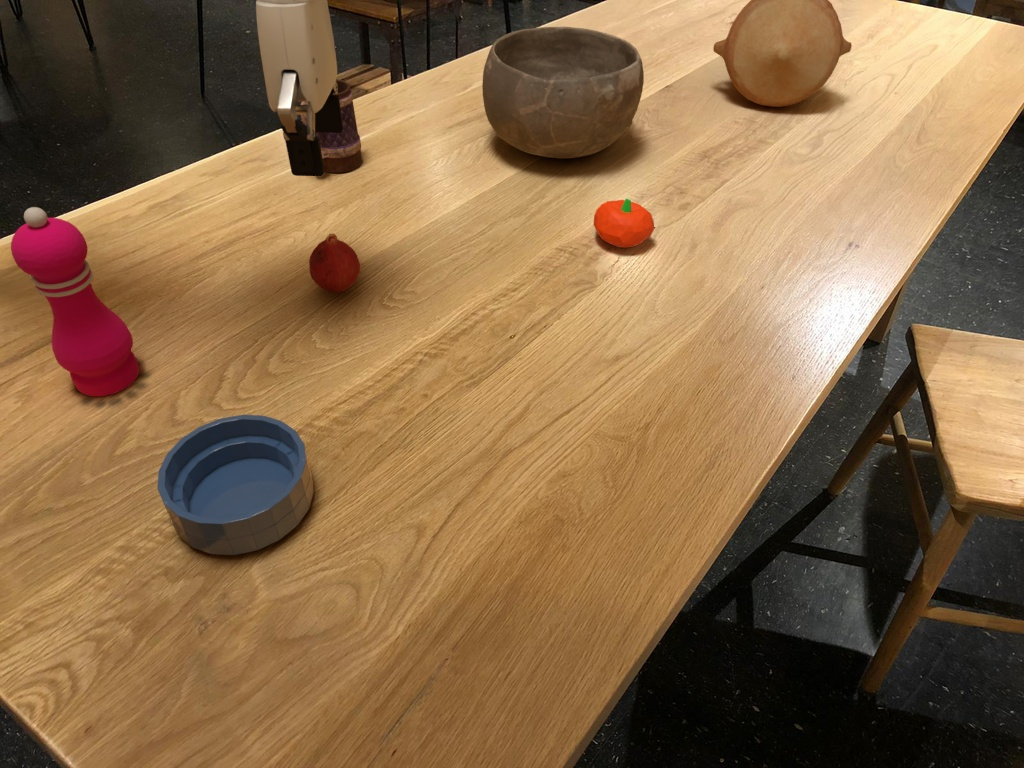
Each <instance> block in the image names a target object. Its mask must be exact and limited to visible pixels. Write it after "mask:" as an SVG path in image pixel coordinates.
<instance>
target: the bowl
mask: <svg viewBox="0 0 1024 768" xmlns="http://www.w3.org/2000/svg"><path fill="white" fill-rule="evenodd" d="M644 75H645V74H644V66H643V60H642V57H641V55H640V53H639V51H638V49H637V48H636V47H635V45H633V44H632V43H630V42H629V41H628V40H626V39H624V38H622V37H619V36H616V35H613V34H611V33H607V32H602V31H599V30H595V29H590V28H584V27H582V28H581V27H573V26H542V27H540V26H539V27H532V28H525V29H520V30H519V29H518V30H515V31H511V32H509V33H506V34H504V35H502V36H501V37H499V38H497V39H496V40H494V42H493V43H492V46H491V47H490V49H489V52H488V54H487V58H486V60H485V62H484V67H483V72H482V83H481V85H482V87H481V88H482V99H483V100H482V101H483V108H484V111H485V115H486V118H487V120H488V123H489V125H490V126H491V128H492V130H493V131H494V132H495V133H496V135H497V136H498V137H499V138H501V139H502V140H503V141H504V142H505V143H506V144H508V145H510V146H512V147H514V148H516V149H518V150H519V151H522V152H523V153H527V154H529V155H533V156H539V157H545V158H551V159H553V158H555V159H574V158H580V157H586V156H591V155H593V154H596V153H599V152H600V151H603V150H605V149H607V148H608V147H610V146H611V145H612V144H614V143H615V142H616V141H617V140H618V139H619V138H620V137H621V136H622V135H623V134H624V133H625V132H626V131H627V130H628V128H630V127H631V126H632V125H633V121H634V120H633V119H635V116H636V113H637V111H638V109H639V104H640V102H641V100H642V99H641V98H642V95H643V89H644V88H643V87H644V84H645V83H644V82H645V81H644V80H645V77H644Z"/></svg>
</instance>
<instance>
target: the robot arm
mask: <svg viewBox="0 0 1024 768" xmlns="http://www.w3.org/2000/svg"><path fill="white" fill-rule="evenodd" d="M328 4H329V2H328V0H256V1H255V14H256V16H255V17H256V27H257V37H258V45H259V51H260V52H259V53H260V58H261V59H260V60H261V64H262V71H263V77H264V83H265V89H266V96H267V101H268V107H269V108H270V109H271V111H273V112H274V113H277V116H278V118H279V120H280V124H281V125H280V129H281V130H282V135H283V140H284V141H285V147H286V151H287V156H288V157H287V158H288V162H289V166H290V173H291V174H292V175H293V176H295V177H323V176H324V174H325V171H324V165H323V159H322V153H321V147H320V141H319V136H315V132H325V133H341V132H342V130H343V122H342V115H341V108H340V101H339V95H333V94H337V92H338V86H337V82H336V79H337V77H338V61H337V53H336V46H335V39H334V33H333V32H334V31H333V26H332V20H331V14H330V9H329V6H328ZM298 102H300V103H302V102H308V105H301V104H297V103H298ZM299 115H300V116H301V115H306V125H305V124H304V123H303V122H302V119H301V118H300V119H299V118H298V116H299Z"/></svg>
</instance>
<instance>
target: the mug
mask: <svg viewBox="0 0 1024 768" xmlns="http://www.w3.org/2000/svg"><path fill="white" fill-rule="evenodd" d="M336 82H337V86H338V92H337V94H333V95H339V101H340V108H341V115H342V122H343V130H342V132H341V133H325V132H315V136H319V141H320V147H321V153H322V159H323V165H324V172H327V173H332V174H341V173H347V172H350V171H354V170H355V169H357V168H358V167H359V166H360V165H361V164H362V162H363V154H362V141H361V136H360V134H359V131H358V124H357V118H356V111H355V105H354V96H353V91H352V90H351V86H350V83H348V82H347V81H345V80H342V79H337V78H336ZM300 105H308V102H300ZM300 120H302V122H303V123H304V124H305V125H306V115H300Z"/></svg>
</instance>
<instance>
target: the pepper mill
mask: <svg viewBox="0 0 1024 768" xmlns="http://www.w3.org/2000/svg"><path fill="white" fill-rule="evenodd" d="M23 219H24V222H25V223H24V224H22V225H21V226H20V227H19V228H18V229H16V231H15V232H14V234H13V235H12V239H11V242H10V249H11V250H10V251H11V256H12V258H13V261H14V263H15V264H16V266H17V267H18V268H19V269H20V270H22V271H23V273H25V274H27V275H29V276H30V281H31V283H32V284H33V286H34V289H35V291H36V292H37V293H38V294H39V295H41V296H44V297H45V298H46V300H47V302H48V304H49V306H50V308H51V309H50V310H51V311H52V318H53V320H52V321H53V323H52V330H51V348H52V352H53V356H54V358H55V360H56V362H57V363H58V365H59V366H60V367H61V368H63V369H64V370H66V371H67V372H69V376H70V379H71V380H72V382H73V384H74V386H75V388H76V389H77V390H78V391H79V392H80V393H81V394H83V395H86V396H89V397H90V396H91V397H106V396H111V395H114V394H116V393H119V392H122V391H123V390H125V389H127V388H129V386H131V385H132V384H133V383H134V382H135V381H136V380H137V378H138V376H139V373H140V365H139V363H138V361H137V358H136V356H135V354H134V352H133V351H132V349H133V345H134V340H133V335H132V333H131V331H130V329H129V327H128V326H127V324H126V323H125V321H124V320H123V319H121V317H120V316H119V315H118V314H116V313H115V312H114V311H113V310H111V309H110V308H109V307H108V306H107V305H106V304H104V302H103V301H102V300H101V299H100V298H99V296H97V294H96V292H95V290H94V288H93V285H92V281H93V279H94V273H93V272H94V271H92V269H91V265H90V263H89V262H88V261H87V260H86V259H87V256H88V243H87V241H86V239H85V236H84V235H83V233H81V231H80V230H79V229H78V227H76V226H75V225H74V224H73V223H71V222H69V221H66V220H65V219H61V218H58V217H48V214H47V213H46V211H45V210H43V209H42V208H40V207H37V206H31V207H29V208H26V210H25V211H24V213H23Z"/></svg>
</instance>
